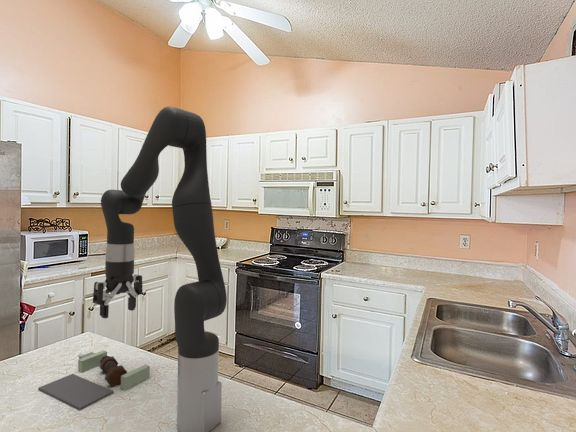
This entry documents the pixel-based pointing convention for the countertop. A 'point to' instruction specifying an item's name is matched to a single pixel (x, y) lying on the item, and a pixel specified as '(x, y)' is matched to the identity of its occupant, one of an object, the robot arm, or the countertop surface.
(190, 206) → the robot arm
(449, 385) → the countertop surface
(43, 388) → the mat
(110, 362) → the bolt
